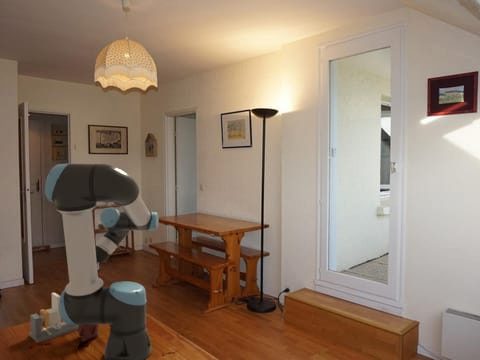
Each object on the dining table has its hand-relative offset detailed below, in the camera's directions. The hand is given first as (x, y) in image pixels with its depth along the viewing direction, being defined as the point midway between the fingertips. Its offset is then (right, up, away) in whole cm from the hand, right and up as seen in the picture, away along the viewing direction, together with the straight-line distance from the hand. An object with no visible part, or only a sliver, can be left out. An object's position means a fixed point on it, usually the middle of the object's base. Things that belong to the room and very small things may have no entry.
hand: (62, 300), depth 138 cm
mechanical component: (+12, -12, -5) cm, 18 cm away
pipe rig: (-1, -12, -1) cm, 12 cm away
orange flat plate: (-4, -8, -4) cm, 10 cm away
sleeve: (-3, -9, -2) cm, 10 cm away
